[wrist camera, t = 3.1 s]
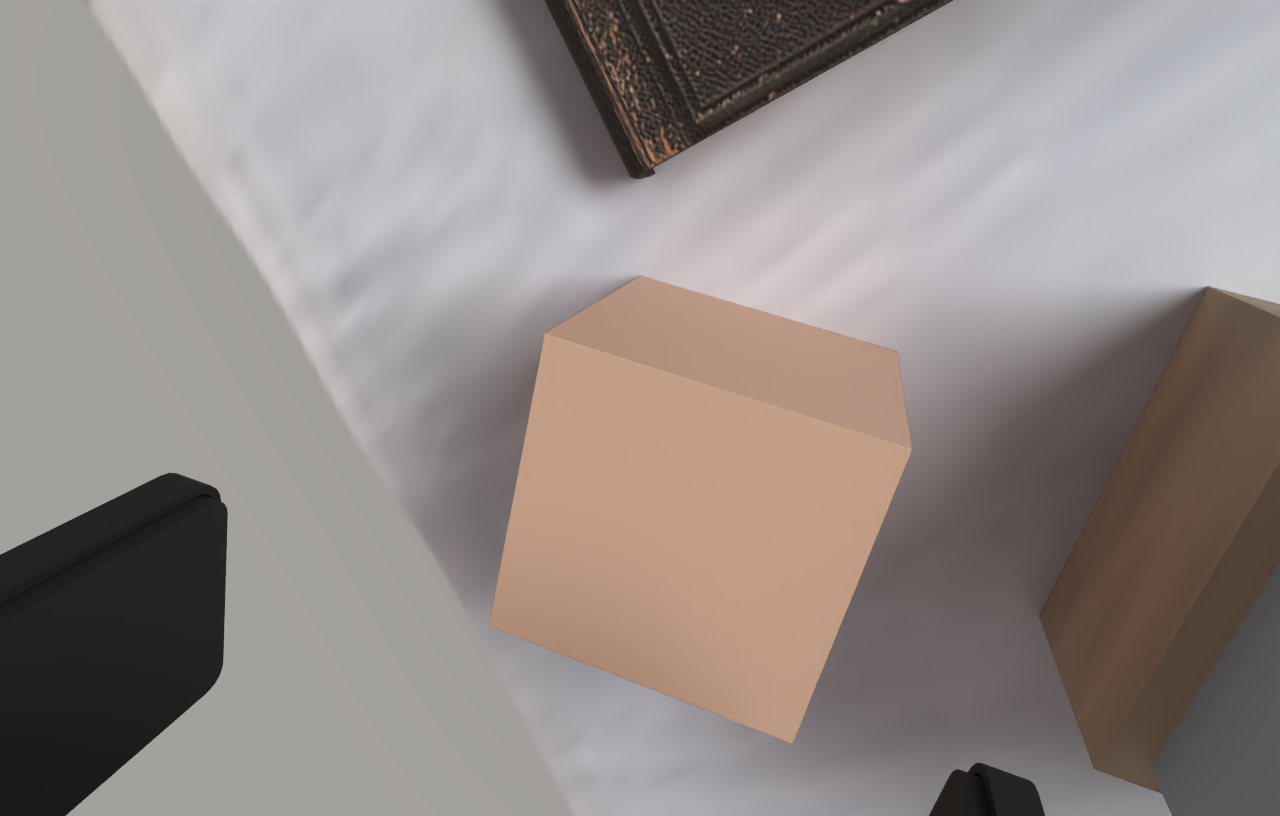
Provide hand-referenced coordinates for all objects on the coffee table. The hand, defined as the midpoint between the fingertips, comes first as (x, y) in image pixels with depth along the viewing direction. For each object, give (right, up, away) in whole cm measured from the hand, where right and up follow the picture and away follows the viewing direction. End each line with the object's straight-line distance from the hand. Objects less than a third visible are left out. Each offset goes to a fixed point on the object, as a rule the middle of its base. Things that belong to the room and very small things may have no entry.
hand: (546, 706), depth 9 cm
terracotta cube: (+3, +3, +9) cm, 10 cm away
